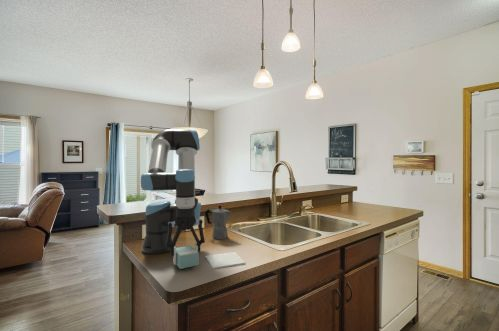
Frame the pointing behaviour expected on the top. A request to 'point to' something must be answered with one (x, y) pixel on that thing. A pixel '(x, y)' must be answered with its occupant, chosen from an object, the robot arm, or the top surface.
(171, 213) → the robot arm
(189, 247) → the light blue block
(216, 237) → the coffeepot
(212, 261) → the mat
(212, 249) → the top surface
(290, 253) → the top surface
